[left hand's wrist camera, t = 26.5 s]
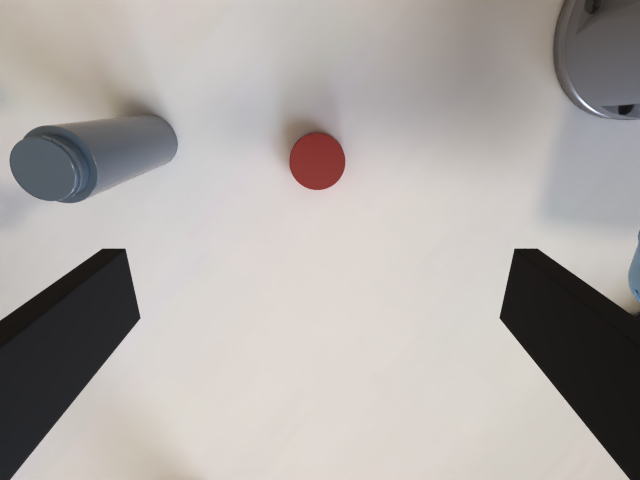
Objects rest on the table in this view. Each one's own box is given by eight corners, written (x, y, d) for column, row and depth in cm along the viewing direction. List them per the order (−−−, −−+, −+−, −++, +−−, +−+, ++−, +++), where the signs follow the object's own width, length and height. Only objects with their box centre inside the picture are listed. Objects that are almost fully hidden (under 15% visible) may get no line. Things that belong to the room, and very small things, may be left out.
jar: (172, 172, 37) (80, 220, 23) (123, 156, 36) (-2, 194, 22) (182, 124, 35) (89, 144, 21) (131, 107, 35) (0, 114, 21)
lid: (305, 122, 35) (304, 123, 34) (353, 147, 36) (355, 150, 35) (282, 171, 37) (280, 175, 35) (329, 194, 38) (329, 199, 36)
